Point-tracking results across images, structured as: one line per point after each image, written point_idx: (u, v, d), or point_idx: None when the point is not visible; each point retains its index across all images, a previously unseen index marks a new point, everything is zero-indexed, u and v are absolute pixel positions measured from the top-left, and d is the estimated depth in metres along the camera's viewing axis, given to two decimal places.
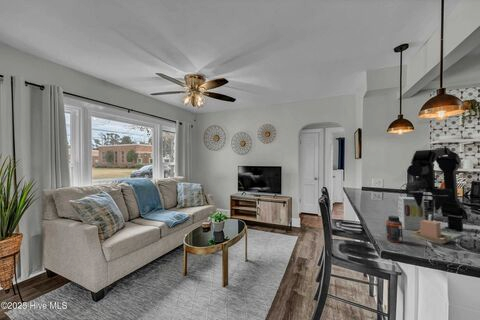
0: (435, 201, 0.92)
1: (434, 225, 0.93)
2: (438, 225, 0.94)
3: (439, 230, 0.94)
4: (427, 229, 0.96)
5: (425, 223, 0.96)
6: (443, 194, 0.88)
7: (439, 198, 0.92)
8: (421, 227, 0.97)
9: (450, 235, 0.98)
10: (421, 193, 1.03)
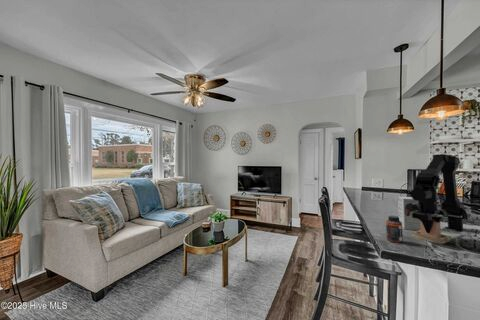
0: None
1: (434, 225, 0.93)
2: (438, 225, 0.94)
3: (439, 230, 0.94)
4: None
5: None
6: (415, 217, 0.94)
7: (427, 221, 0.95)
8: (421, 227, 0.97)
9: (450, 235, 0.98)
10: (437, 218, 0.96)
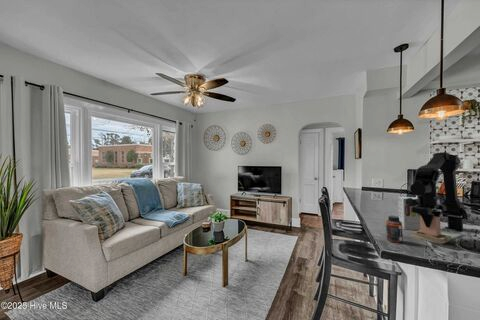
0: None
1: (434, 219, 0.93)
2: (438, 219, 0.94)
3: (439, 225, 0.94)
4: None
5: None
6: (415, 211, 0.94)
7: (426, 216, 0.95)
8: (421, 221, 0.98)
9: (450, 235, 0.98)
10: (436, 213, 0.96)
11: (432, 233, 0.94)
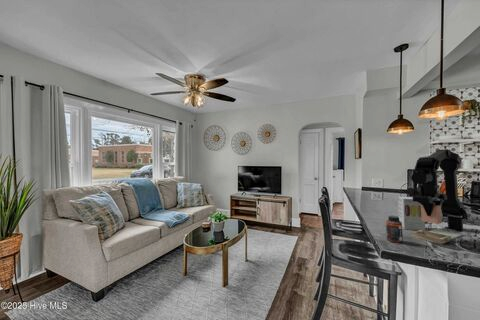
0: None
1: (435, 208, 0.94)
2: (439, 208, 0.95)
3: (440, 213, 0.95)
4: None
5: None
6: (416, 200, 0.94)
7: (427, 204, 0.95)
8: (422, 210, 0.98)
9: (450, 235, 0.98)
10: (437, 202, 0.97)
11: (433, 221, 0.95)
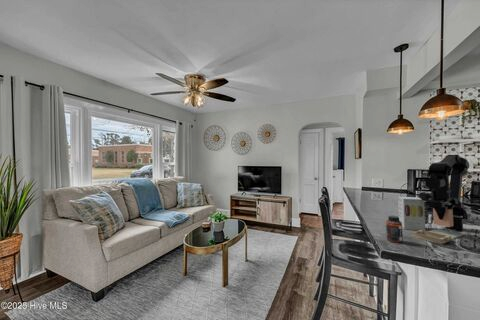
0: None
1: (447, 212, 0.99)
2: (451, 212, 0.99)
3: (452, 217, 1.00)
4: None
5: None
6: (429, 204, 0.99)
7: (440, 208, 1.00)
8: (434, 214, 1.03)
9: (450, 235, 0.98)
10: (449, 206, 1.01)
11: (445, 225, 0.99)
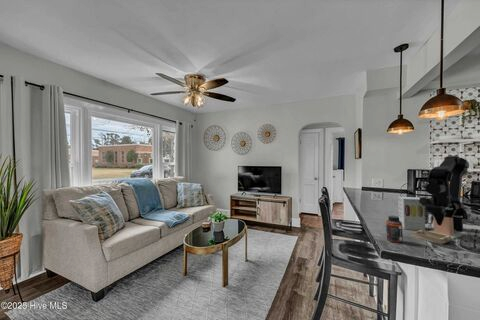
0: None
1: (447, 220, 0.99)
2: (451, 220, 0.99)
3: (452, 225, 0.99)
4: None
5: None
6: (429, 210, 0.99)
7: (438, 214, 0.99)
8: (435, 222, 1.03)
9: (450, 235, 0.98)
10: (451, 211, 1.02)
11: (446, 233, 0.99)
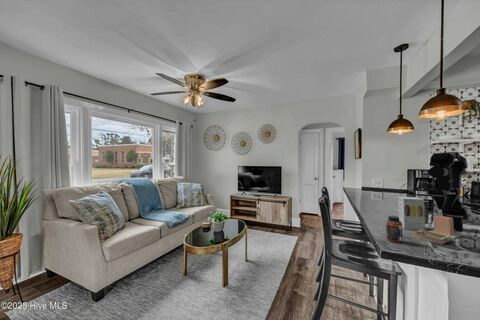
0: None
1: (447, 220, 0.99)
2: (451, 220, 0.99)
3: (452, 225, 0.99)
4: (440, 224, 1.01)
5: (438, 218, 1.02)
6: (431, 193, 0.99)
7: (439, 198, 0.99)
8: (435, 222, 1.03)
9: (450, 235, 0.98)
10: (453, 195, 1.02)
11: (446, 233, 0.99)
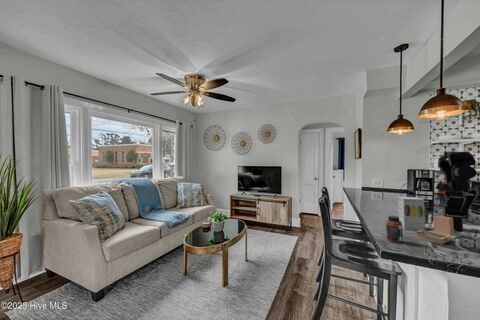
0: None
1: (447, 220, 0.99)
2: (451, 220, 0.99)
3: (452, 225, 0.99)
4: (440, 224, 1.01)
5: (438, 218, 1.02)
6: (449, 195, 0.94)
7: (457, 200, 0.94)
8: (435, 222, 1.03)
9: (450, 235, 0.98)
10: (471, 196, 0.97)
11: (446, 233, 0.99)
